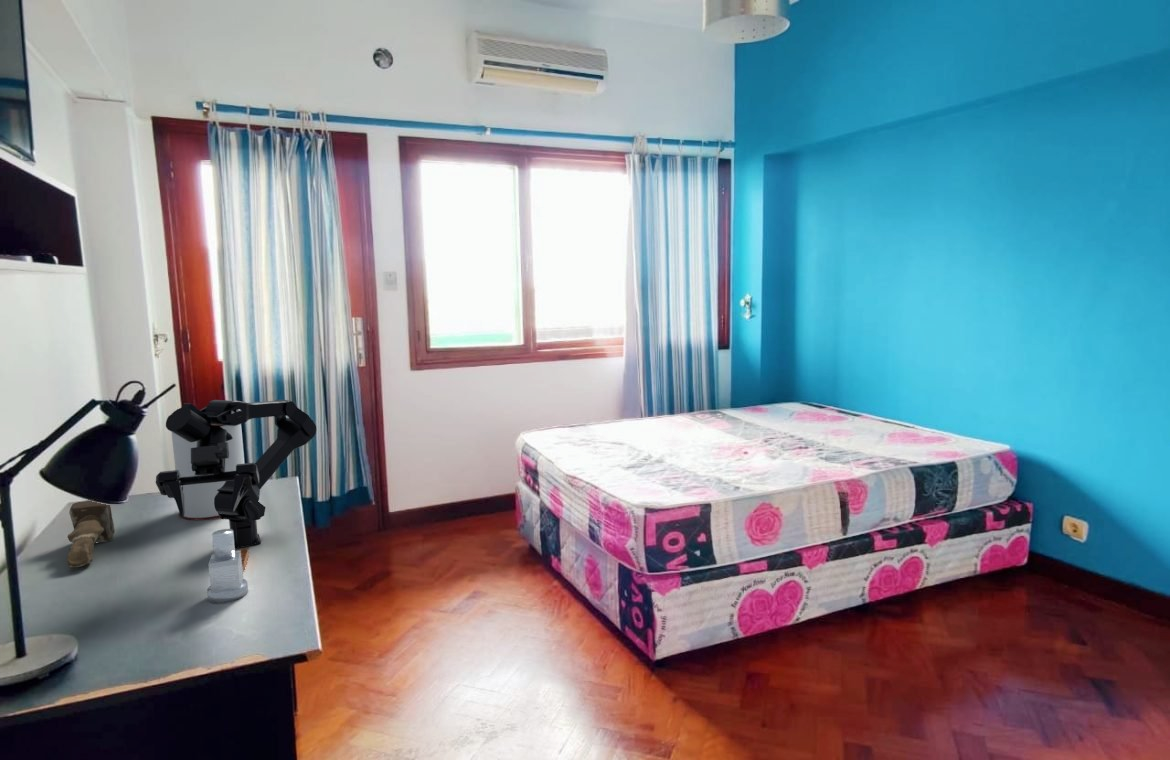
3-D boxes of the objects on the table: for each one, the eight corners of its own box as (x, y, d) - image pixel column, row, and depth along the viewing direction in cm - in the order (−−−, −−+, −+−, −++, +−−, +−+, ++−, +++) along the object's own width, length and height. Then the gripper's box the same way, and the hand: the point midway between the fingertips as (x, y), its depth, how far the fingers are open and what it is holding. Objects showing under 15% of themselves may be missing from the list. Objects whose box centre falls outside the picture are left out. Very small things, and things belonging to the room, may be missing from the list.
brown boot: (73, 604, 149) (55, 567, 139) (79, 524, 162) (63, 486, 153) (113, 595, 152) (98, 559, 142) (116, 518, 166) (103, 480, 156)
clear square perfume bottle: (214, 582, 131) (209, 529, 129) (243, 578, 133) (238, 526, 131) (211, 593, 126) (206, 538, 125) (240, 588, 128) (235, 534, 127)
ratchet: (222, 561, 146) (220, 541, 146) (257, 556, 149) (256, 537, 148) (205, 606, 125) (202, 584, 124) (246, 600, 128) (244, 578, 127)
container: (202, 499, 190) (194, 414, 187) (261, 499, 190) (254, 414, 186) (164, 520, 173) (154, 427, 169) (229, 520, 173) (220, 426, 169)
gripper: (152, 434, 136) (145, 501, 127) (253, 426, 142) (252, 489, 134) (165, 462, 144) (158, 527, 135) (259, 453, 151) (259, 514, 142)
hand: (207, 514), depth 136 cm, fingers open, 9 cm apart
